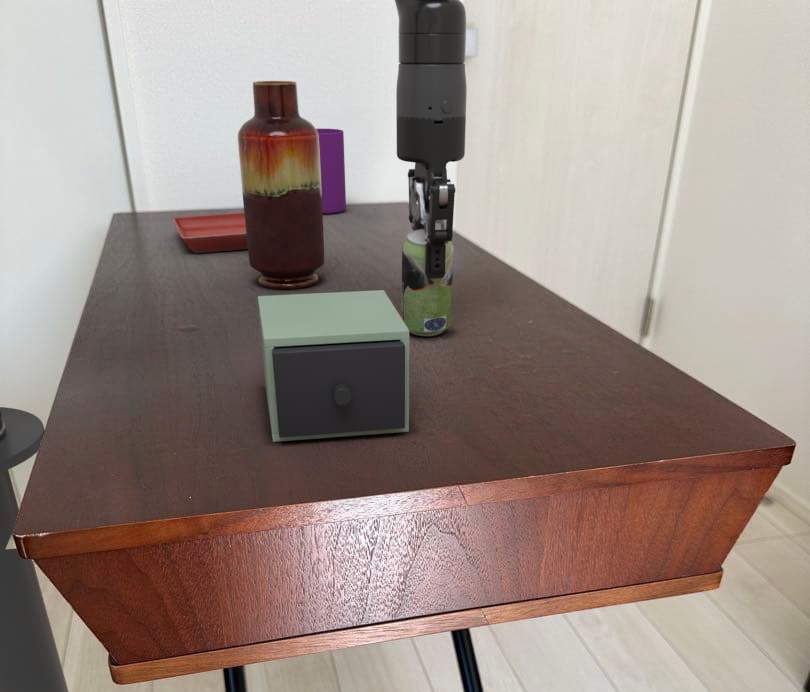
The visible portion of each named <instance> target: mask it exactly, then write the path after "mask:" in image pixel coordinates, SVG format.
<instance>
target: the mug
mask: <svg viewBox="0 0 810 692" xmlns="http://www.w3.org/2000/svg"><path fill="white" fill-rule="evenodd" d="M316 130H317V132H318V135H319V149H320V168H321V189H322V211H323V216H324V215H336V214H340V213H343V212H344V211H345V210H346V209H347V198H346V197H347V196H346V195H347V194H346V193H347V192H346V167H345V165H346V162H345V138H344V136H345V135H344V130H343V129H338V128H316Z"/></svg>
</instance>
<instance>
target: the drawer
mask: <svg viewBox="0 0 810 692" xmlns="http://www.w3.org/2000/svg"><path fill="white" fill-rule="evenodd" d="M272 357H273V369H274V381H275V393H276V405H277V417H278V429H279V437H294V436H307V435H320V434H334V433H347V432H360V431H374V430H387V429H400V428H405V345H404V343H403V342H402V341H399V342H392V340H386V341H369V342H352V343H335V344H317V345H300V346H283V347H276V349H272Z"/></svg>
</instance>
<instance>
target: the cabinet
mask: <svg viewBox="0 0 810 692" xmlns="http://www.w3.org/2000/svg"><path fill="white" fill-rule="evenodd" d="M257 303H258V316H259V324H260V327H259V328H260V335H261V336H260V338H261V348H262V361H263V372H264V382H265V391H266V399H267V407H268V415H269V423H270V431H271V439H272V442H273V443H277V442H288V441H289V442H290V441H291V442H292V441H300V440H301V441H302V440H303V441H304V440H317V439H329V438H345V437H356V436H357V437H358V436H369V435H384V434H396V433H397V434H398V433H408V432H410V332H409V329H408V328H407V326H406V325H405V323H404V321H403V320H402V316H401V315H400V314H399V312H398V310H397V309H396V307H395V305H394V304H393V302H392V300H391V299H390V297H389V296H388V294H387V293H386V291H385V289H376V290H360V291H359V290H357V291H339V292H338V291H337V292H315V293H297V294H295V293H293V294H277V295H276V294H275V295H258V296H257ZM386 340H392V342H399V341H402V342H403V343H404V345H405V428H400V429H387V430H374V431H360V432H347V433H334V434H320V435H307V436H294V437H279V429H278V417H277V405H276V393H275V381H274V369H273V357H272V349H276V347H283V346H300V345H317V344H335V343H352V342H369V341H386Z"/></svg>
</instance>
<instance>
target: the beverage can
mask: <svg viewBox="0 0 810 692" xmlns="http://www.w3.org/2000/svg"><path fill="white" fill-rule="evenodd" d="M435 230H437V228H435ZM424 237H425V232H424V229H419V230H415V231H413V230H412V231H410V232H408V233H407V235H406V239H405V240H404V242H403V244H402V247H401V318H402V320H403V321H404V323H405V325H406V326H407V328H408V329H409V333H411V334H413V335H414V336H418V337H434V336H438V335H440V334H442V333H443V332H444V331H446V330H448V329H449V328H450V326H451V321H452V320H451V319H452V298H453V297H452V295H453V275H454V273H453V272H454V255H455V254H454V251H455V250H454V249H455V248H454V246H453V243H452V241H448V243H447V244H446V258H445V276H444V277H443V278H434V279H429V278H428V277H427V276H426V275H425V244H426V243H425V240H424Z"/></svg>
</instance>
